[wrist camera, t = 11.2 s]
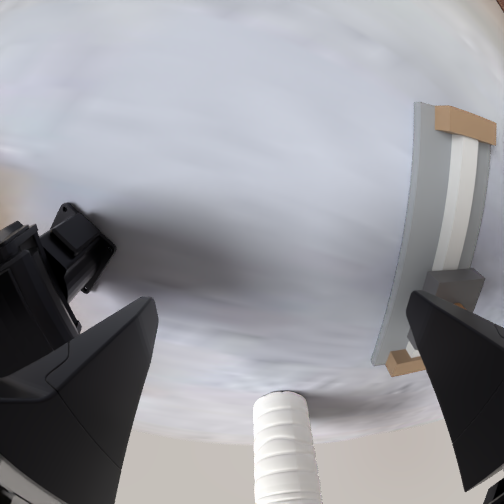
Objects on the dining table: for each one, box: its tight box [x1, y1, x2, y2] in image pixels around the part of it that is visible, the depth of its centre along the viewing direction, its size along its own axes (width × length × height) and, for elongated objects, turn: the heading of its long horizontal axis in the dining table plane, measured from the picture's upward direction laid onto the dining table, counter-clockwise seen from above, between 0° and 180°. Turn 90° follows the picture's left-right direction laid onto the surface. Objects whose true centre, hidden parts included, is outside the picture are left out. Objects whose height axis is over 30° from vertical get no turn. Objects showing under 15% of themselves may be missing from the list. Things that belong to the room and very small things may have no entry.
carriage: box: [407, 268, 485, 350], centre depth 17 cm, size 7×6×10 cm
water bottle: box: [253, 391, 323, 504], centre depth 19 cm, size 9×6×25 cm
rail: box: [371, 102, 496, 377], centre depth 21 cm, size 26×9×3 cm, turn 1°
